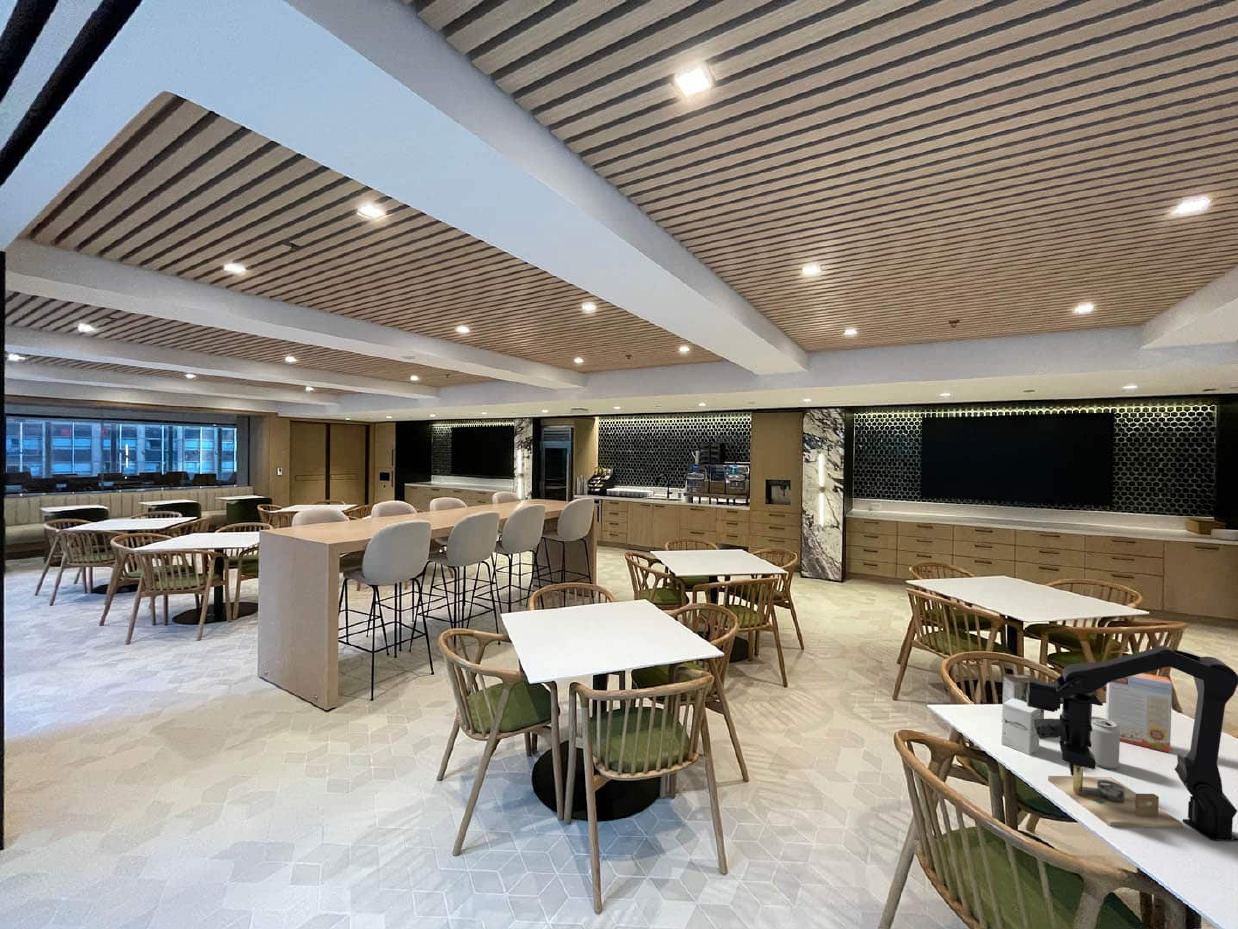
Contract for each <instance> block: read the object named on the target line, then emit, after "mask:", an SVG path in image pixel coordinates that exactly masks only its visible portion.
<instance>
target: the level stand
mask: <svg viewBox="0 0 1238 929" xmlns="http://www.w3.org/2000/svg"><path fill="white" fill-rule="evenodd" d="M1099 780H1107V781H1111V782H1114V783H1116V784H1119V785H1120V786H1122V787H1123V788H1124V789H1125V801H1124V802H1123V803H1116V802H1112V801H1109V800H1107V799H1104V798H1102V797H1100V796H1097V795H1087V794H1077V793H1075V792H1073V776H1072V775H1047V781H1048V782H1050V784H1052V785H1053V786H1054V787H1056V786H1057V789H1060V791H1062V792H1063V793H1064V792H1065V794H1066V796H1069V797H1070V798H1071V799H1072V800H1074V801H1075V802H1076V803H1078V804H1079V803H1080V804H1079V805H1080V806H1082V807H1083V808H1085V809H1086V810H1087V811H1089V812H1090V813H1091V814H1092V815H1094V816H1096V818H1098V819H1099V820H1101V821H1102V822H1103V823H1105V824H1106V825H1108V826H1109V827H1114V828H1116V827H1117V828H1118V827H1120V828H1121V827H1122V828H1168V829H1169V828H1173V829H1175V828H1176V829H1181V828H1183V821H1180V820H1179V819H1177V818H1176V817H1175V816H1172V815H1171V814H1169V813H1168V812H1167V811H1165V810H1163V809H1162V808H1160V807H1159V806H1160V805H1159V802H1160V800H1159V799H1160V797H1159V796H1158V795H1157V794H1155V793H1138V792H1135V791H1133V790H1132V789H1130V788H1129V787H1127V786H1126V785H1124V784H1123V783H1121V782H1120V781H1118V780H1116V779H1115V778H1114V777H1112V776H1084V775H1083V786H1082V787H1090V788H1097V782H1098V781H1099Z"/></svg>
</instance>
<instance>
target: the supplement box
mask: <svg viewBox="0 0 1238 929" xmlns="http://www.w3.org/2000/svg"><path fill="white" fill-rule="evenodd" d="M1002 705H1003V722H1002V721H1001V723H1002V724H1001V741H1000V743H1001V745H1004V746H1007V747H1009V748H1012V749H1015V750H1017V751H1019V752H1022V753H1024V754H1026V755H1028V756H1030V755H1031V754H1032V753H1034V752H1036V751H1037V750H1039V746H1040V738H1039V737H1038V734H1037V732H1036V729H1035V726H1034V720H1035V719H1040V716H1041V709H1037V708H1033V707H1028V706H1027V702H1024V701H1021V700H1018V699H1015V698H1012V699H1010V700H1008V701H1006V702H1004V704H1003V703H1002Z"/></svg>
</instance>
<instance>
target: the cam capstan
mask: <svg viewBox="0 0 1238 929" xmlns="http://www.w3.org/2000/svg"><path fill="white" fill-rule="evenodd" d="M1083 776H1084V767H1083V766H1079V765H1075V764H1074V775H1073V792H1075V793H1077V794H1087V795H1097V796H1100V797H1102V798H1104V799H1107V800H1109V801H1112V802H1116V803H1123V802H1124V801H1125V789H1124V788H1123V787H1122V786H1120V785H1119V784H1116V783H1114V782H1111V781H1107V780H1099V781H1098V782H1097V788H1090V787H1082V786H1083Z"/></svg>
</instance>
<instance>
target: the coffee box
mask: <svg viewBox="0 0 1238 929" xmlns="http://www.w3.org/2000/svg"><path fill="white" fill-rule="evenodd" d="M1002 674H1003V676H1002V677H1003V678H1002V682H1003V683H1002V708H1001V709H1002V712H1001V723H1002V722H1003V704H1004V702H1006V701H1008V700H1010V699H1012V698H1015V699H1018V700H1021V701H1024V702H1027V699H1026V691H1027V689H1028V684H1029V680H1034V681H1037V682H1040V683H1044V682H1043V681H1041V680H1040V679H1039V678H1038V677H1036V676H1034V675H1029V674H1028V675H1027V674H1026V675H1025V674H1012V673H1011V674H1010V673H1002ZM1040 719H1045V710H1042V709H1041V716H1040Z"/></svg>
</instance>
